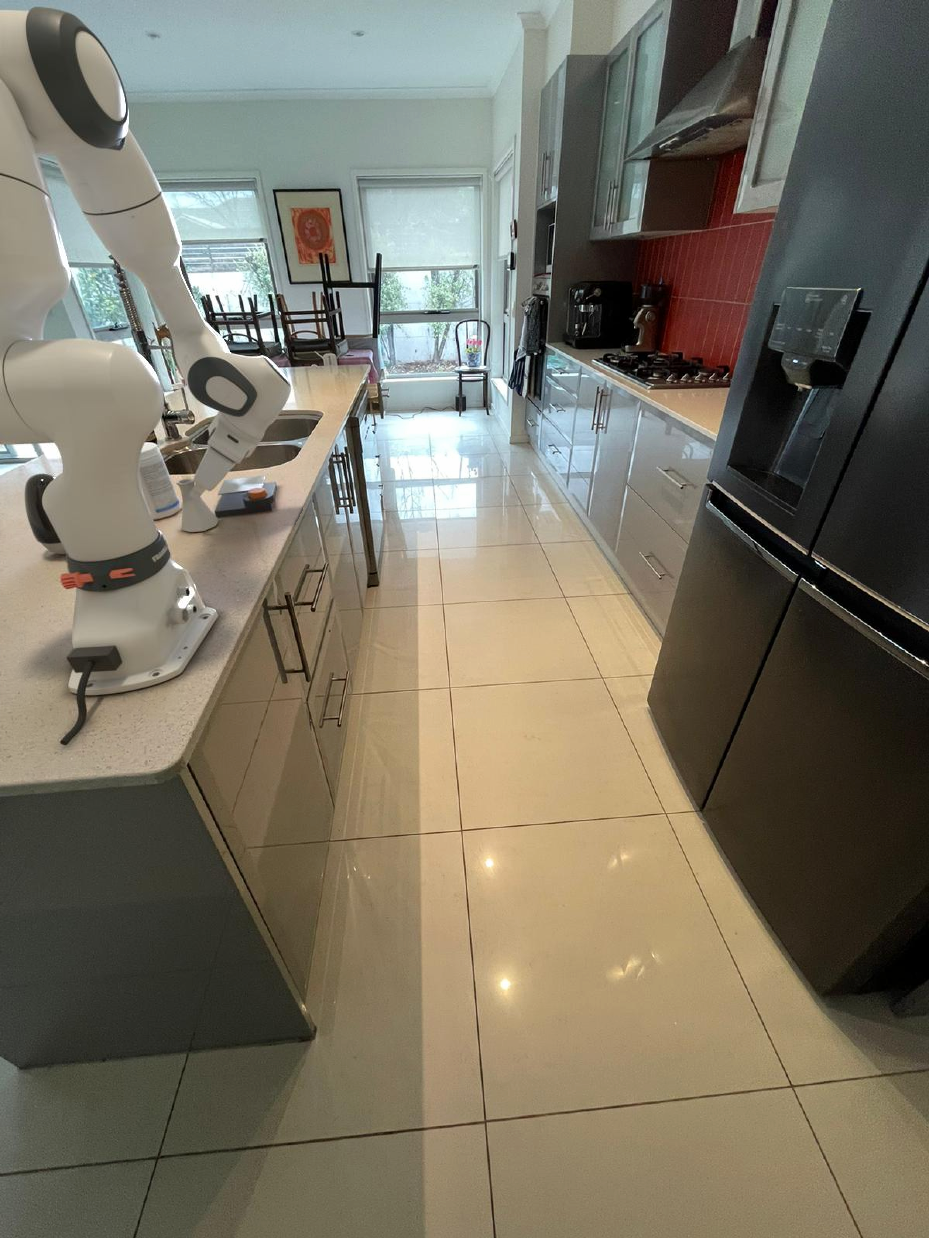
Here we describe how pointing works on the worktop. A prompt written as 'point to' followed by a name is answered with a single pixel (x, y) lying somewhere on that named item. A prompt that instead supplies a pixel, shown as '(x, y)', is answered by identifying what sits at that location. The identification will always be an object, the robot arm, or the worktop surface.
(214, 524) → the flask
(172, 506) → the supplement tub
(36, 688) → the worktop surface
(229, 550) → the worktop surface
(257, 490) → the button
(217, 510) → the scale
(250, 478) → the weighing plate
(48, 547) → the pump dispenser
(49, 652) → the worktop surface
